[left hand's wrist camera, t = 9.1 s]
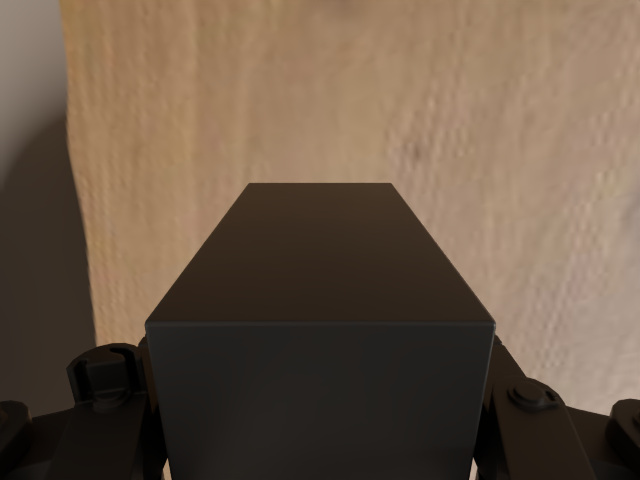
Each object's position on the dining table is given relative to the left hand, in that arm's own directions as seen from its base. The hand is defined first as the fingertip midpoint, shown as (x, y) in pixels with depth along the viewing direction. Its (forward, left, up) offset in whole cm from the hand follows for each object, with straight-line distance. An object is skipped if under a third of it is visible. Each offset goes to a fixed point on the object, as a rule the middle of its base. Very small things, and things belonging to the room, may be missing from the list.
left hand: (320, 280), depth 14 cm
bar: (+9, +2, -1) cm, 9 cm away
